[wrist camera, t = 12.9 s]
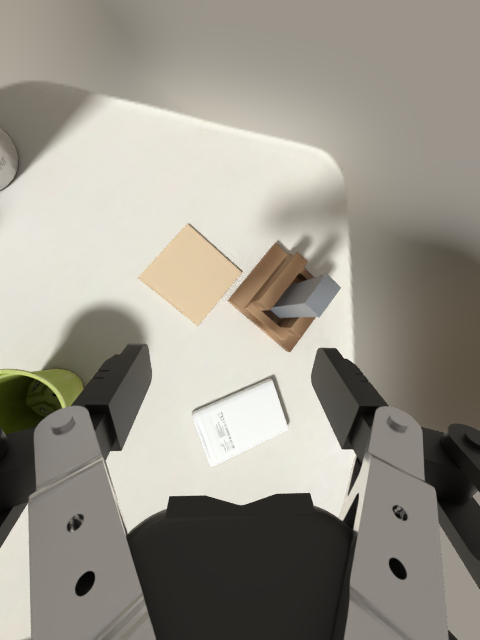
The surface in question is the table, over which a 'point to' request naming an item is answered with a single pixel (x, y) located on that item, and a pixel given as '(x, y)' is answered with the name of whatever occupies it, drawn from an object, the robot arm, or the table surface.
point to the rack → (273, 295)
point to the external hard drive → (240, 421)
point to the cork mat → (190, 275)
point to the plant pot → (34, 396)
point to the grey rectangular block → (306, 298)
